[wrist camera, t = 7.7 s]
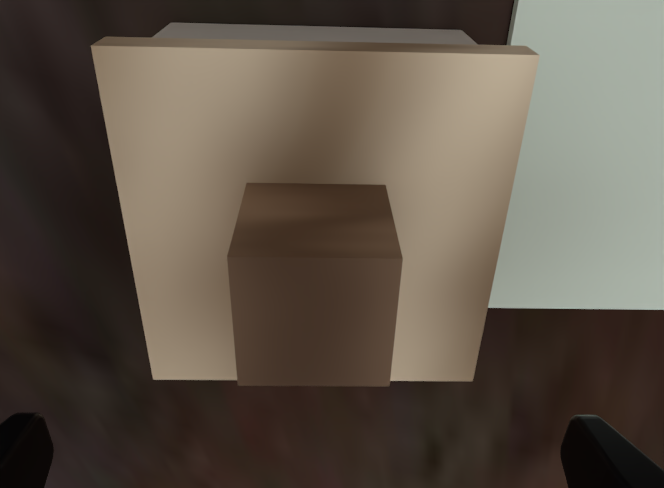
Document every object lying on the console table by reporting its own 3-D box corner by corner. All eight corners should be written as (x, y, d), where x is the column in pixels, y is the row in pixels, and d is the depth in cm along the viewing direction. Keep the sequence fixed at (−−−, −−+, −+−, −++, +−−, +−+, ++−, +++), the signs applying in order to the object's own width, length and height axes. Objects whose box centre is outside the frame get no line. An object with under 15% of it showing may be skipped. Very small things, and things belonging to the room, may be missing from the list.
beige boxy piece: (461, 30, 18) (500, 65, 14) (428, 270, 22) (451, 346, 18) (170, 22, 17) (128, 55, 14) (198, 267, 22) (172, 344, 18)
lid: (526, 45, 14) (607, 101, 10) (465, 359, 19) (503, 477, 15) (105, 36, 13) (18, 90, 9) (161, 357, 18) (119, 477, 15)
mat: (907, -11, 17) (918, -9, 17) (748, 304, 23) (754, 310, 23) (518, -22, 17) (522, -21, 17) (460, 301, 23) (462, 307, 23)
